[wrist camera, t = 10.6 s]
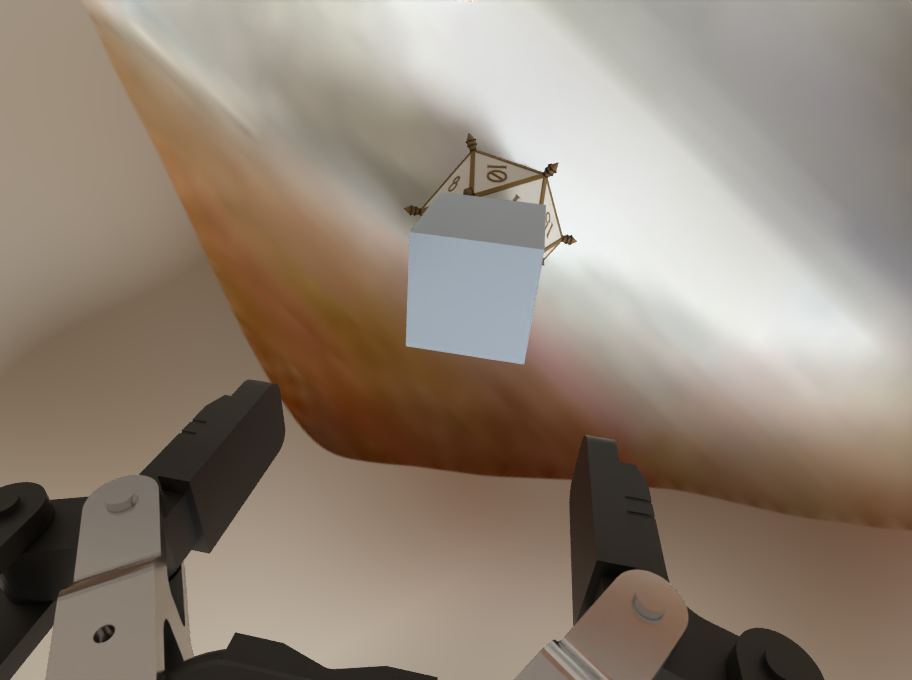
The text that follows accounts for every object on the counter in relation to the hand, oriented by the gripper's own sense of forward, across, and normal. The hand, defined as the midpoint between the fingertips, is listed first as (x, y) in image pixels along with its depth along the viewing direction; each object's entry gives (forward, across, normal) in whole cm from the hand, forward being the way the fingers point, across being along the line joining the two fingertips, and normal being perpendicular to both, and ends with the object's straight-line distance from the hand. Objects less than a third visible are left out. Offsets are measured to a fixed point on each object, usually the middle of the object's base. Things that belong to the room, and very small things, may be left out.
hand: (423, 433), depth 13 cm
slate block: (+14, 0, 0) cm, 14 cm away
